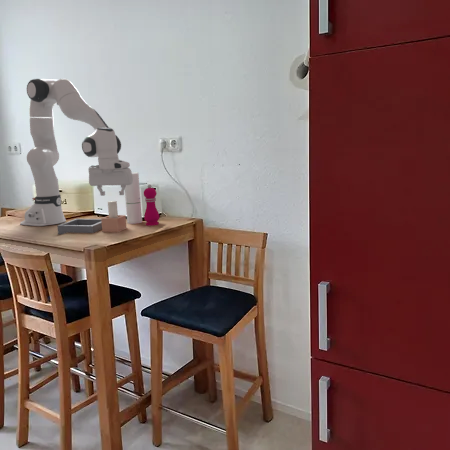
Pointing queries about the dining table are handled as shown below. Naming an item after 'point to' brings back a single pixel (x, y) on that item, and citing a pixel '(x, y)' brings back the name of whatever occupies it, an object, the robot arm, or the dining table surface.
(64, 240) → the dining table surface
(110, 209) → the dowel
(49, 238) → the dining table surface
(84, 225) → the tray
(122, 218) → the pink block with hole
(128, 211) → the cylindrical container
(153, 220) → the pepper mill
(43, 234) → the dining table surface
